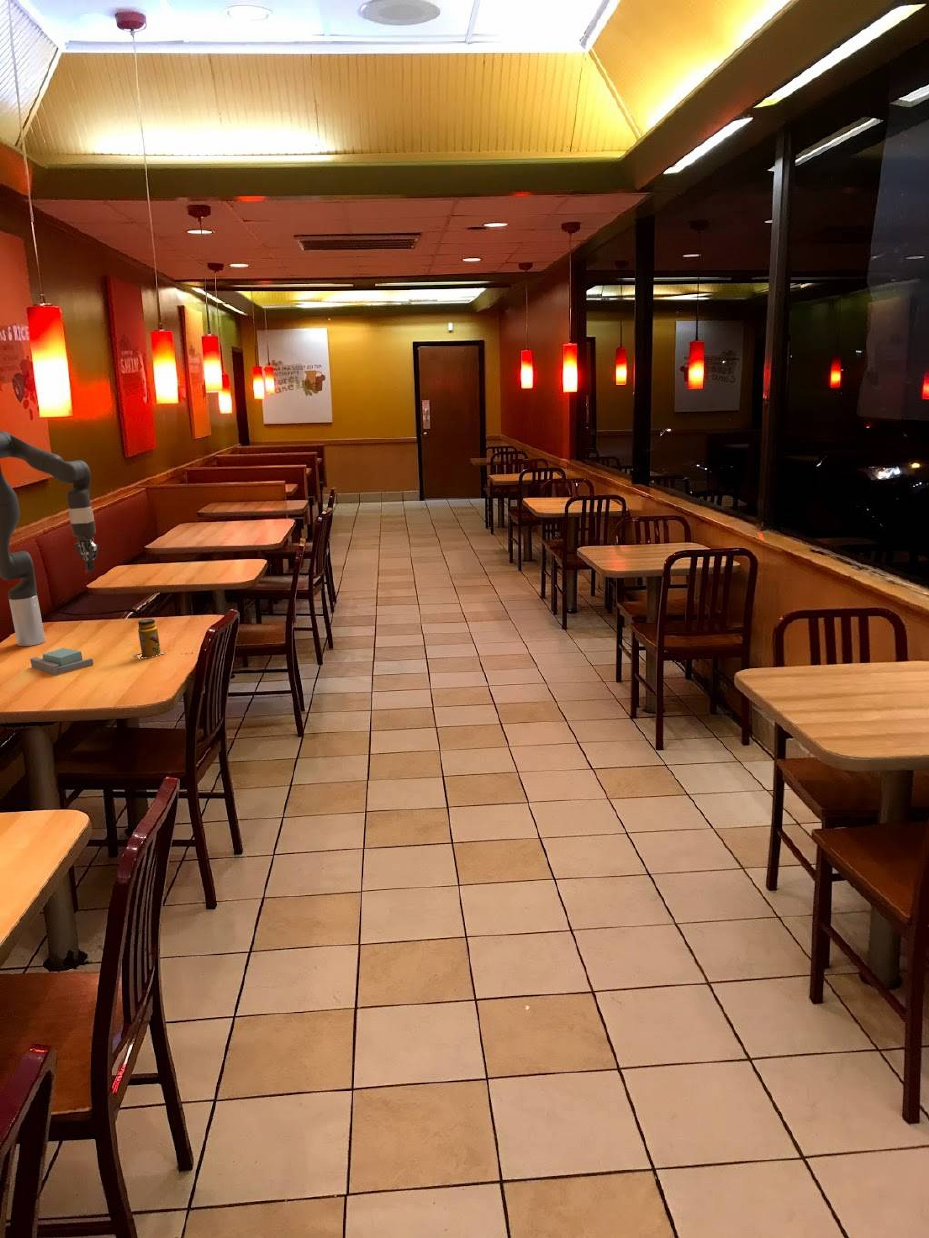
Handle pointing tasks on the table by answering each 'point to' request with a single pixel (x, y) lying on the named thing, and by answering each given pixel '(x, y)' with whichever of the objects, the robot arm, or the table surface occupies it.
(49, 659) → the carton
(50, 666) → the grey u-shaped bracket
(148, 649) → the condiment
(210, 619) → the table surface
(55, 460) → the robot arm
